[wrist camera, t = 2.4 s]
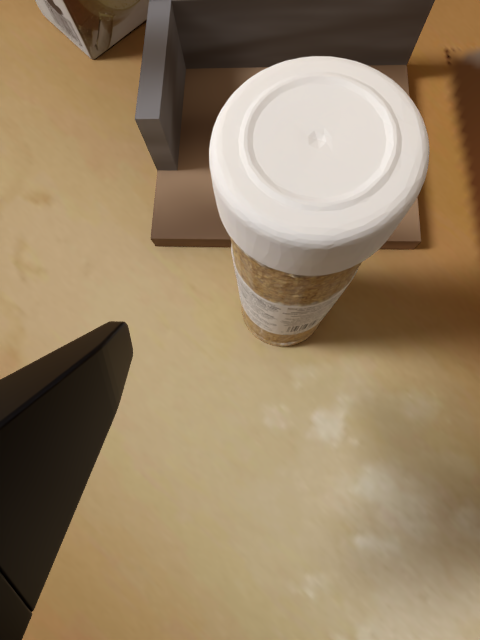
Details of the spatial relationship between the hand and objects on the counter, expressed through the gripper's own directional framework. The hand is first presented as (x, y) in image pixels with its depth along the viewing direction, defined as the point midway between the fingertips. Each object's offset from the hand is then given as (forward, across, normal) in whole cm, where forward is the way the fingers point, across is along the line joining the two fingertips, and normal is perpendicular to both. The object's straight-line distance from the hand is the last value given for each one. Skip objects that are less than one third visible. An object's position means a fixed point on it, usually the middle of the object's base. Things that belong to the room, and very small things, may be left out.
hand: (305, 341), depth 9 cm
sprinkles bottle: (+10, 0, +5) cm, 12 cm away
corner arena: (+17, 0, -2) cm, 18 cm away
